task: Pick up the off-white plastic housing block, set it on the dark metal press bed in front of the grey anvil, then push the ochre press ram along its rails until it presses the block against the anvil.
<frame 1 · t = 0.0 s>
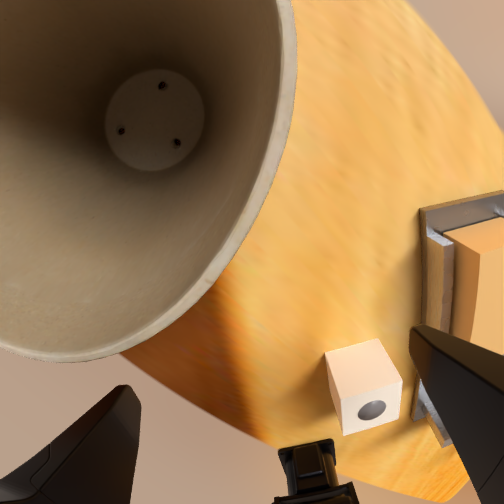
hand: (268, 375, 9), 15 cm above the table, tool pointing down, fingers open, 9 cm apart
plant pot: (152, 121, 20), on the table
press frame: (460, 321, 26), on the table
press ram: (487, 294, 21), point 4 cm above the table, slide at 0.0 cm
housing block: (353, 365, 27), on the table
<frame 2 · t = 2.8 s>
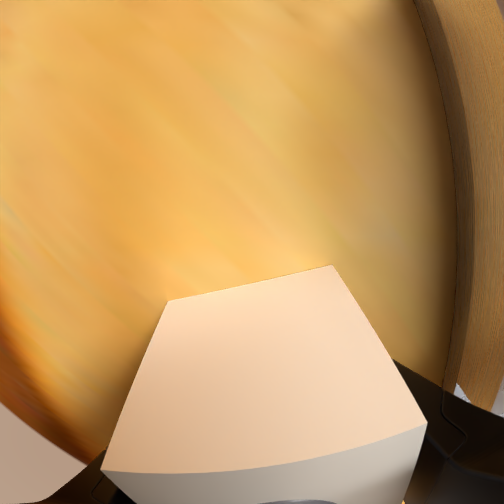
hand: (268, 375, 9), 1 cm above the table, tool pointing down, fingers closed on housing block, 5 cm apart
housing block: (266, 350, 10), on the table, touching gripper
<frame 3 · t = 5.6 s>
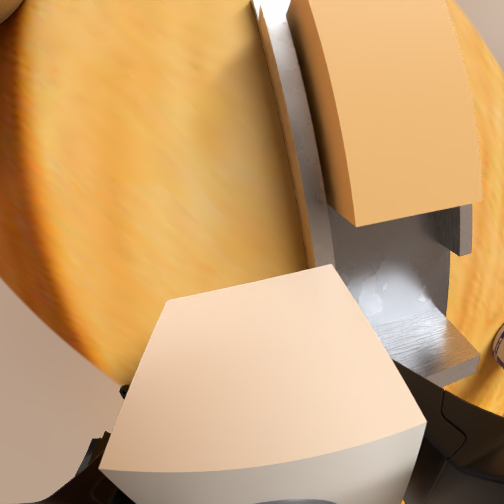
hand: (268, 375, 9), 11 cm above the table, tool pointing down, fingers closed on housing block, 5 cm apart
press frame: (374, 181, 18), on the table
press ram: (386, 92, 13), point 4 cm above the table, slide at 0.0 cm
housing block: (265, 350, 10), point 10 cm above the table, touching gripper
when the fingers open (4 cm above the table, at t = 8.7 s): housing block drops 2 cm, resting on press frame.
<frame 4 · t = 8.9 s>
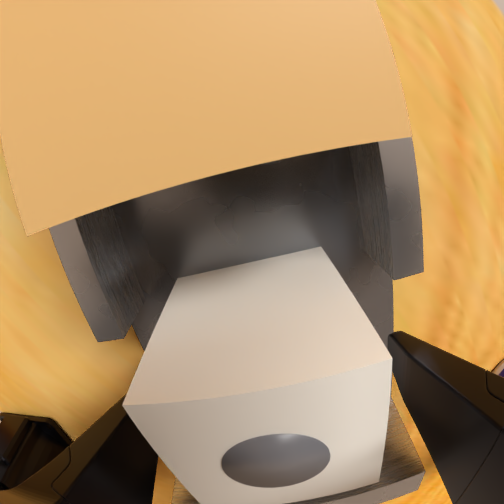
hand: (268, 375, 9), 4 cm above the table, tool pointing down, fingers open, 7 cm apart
press frame: (221, 145, 10), on the table
housing block: (263, 324, 11), point 1 cm above the table, touching press frame
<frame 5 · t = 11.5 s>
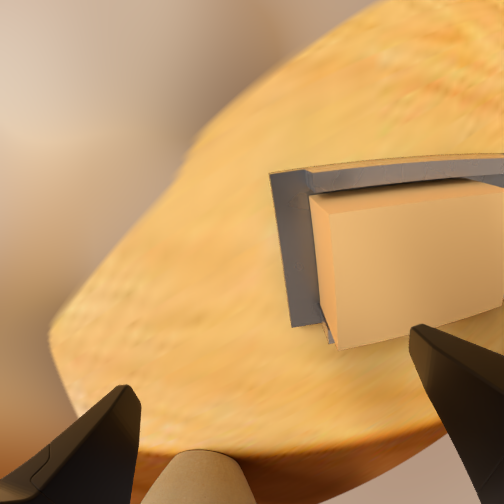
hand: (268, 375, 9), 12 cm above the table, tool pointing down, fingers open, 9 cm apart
plant pot: (207, 466, 28), on the table
press frame: (450, 224, 19), on the table
press ram: (416, 252, 16), point 4 cm above the table, slide at 0.0 cm
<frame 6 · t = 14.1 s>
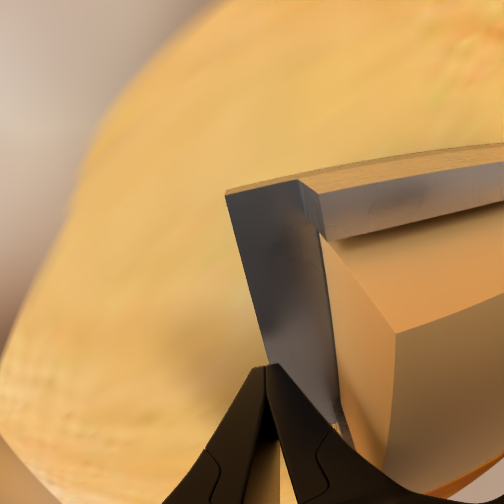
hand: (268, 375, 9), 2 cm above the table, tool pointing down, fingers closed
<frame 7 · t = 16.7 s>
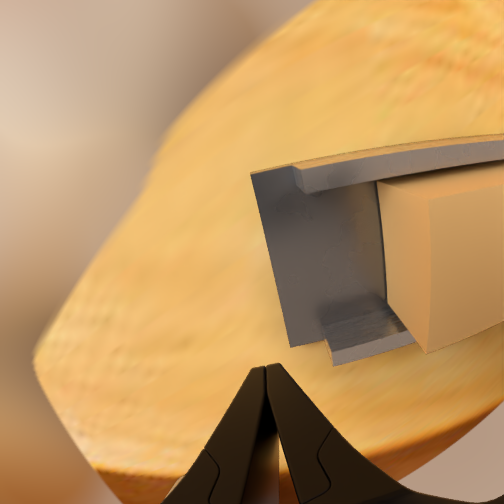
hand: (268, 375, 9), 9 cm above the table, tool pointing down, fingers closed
press frame: (464, 217, 16), on the table
press ram: (489, 238, 13), point 4 cm above the table, slide at 4.0 cm
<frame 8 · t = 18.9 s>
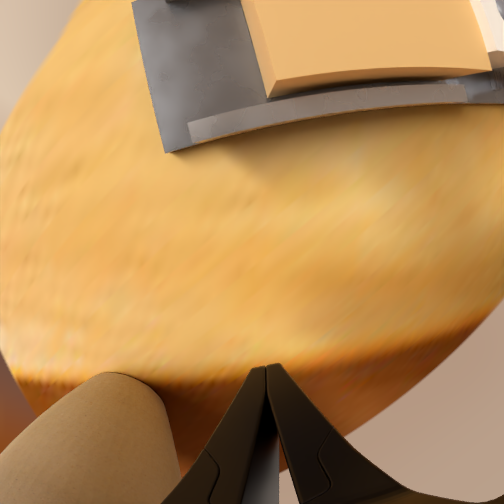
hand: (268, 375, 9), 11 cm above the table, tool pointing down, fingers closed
plant pot: (128, 402, 24), on the table
press frame: (357, 33, 15), on the table
press ram: (362, 13, 11), point 4 cm above the table, slide at 4.0 cm
housing block: (453, 33, 13), point 1 cm above the table, touching press frame
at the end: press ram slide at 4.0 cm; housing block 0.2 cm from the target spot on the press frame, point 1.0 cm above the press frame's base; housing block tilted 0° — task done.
